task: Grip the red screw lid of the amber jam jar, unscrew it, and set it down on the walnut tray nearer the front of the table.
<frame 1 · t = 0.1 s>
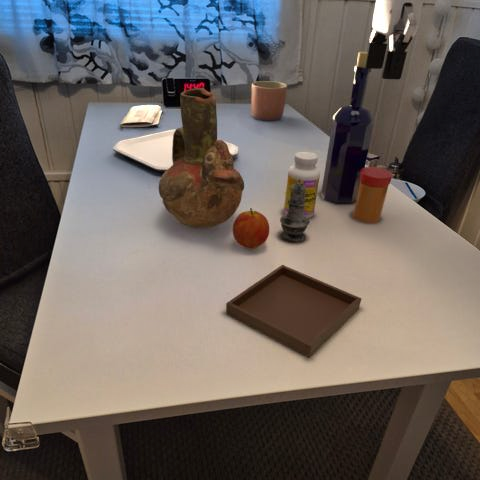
hand: (381, 73, 79), 29 cm above the table, tool pointing down, fingers open, 9 cm apart
grey carved figurine: (292, 237, 90), on the table
planter: (267, 118, 162), on the table
jar: (366, 217, 99), on the table
tray: (293, 311, 70), on the table
bottle: (339, 197, 107), on the table
ceramic vessel: (204, 224, 93), on the table
plate: (177, 155, 127), on the table
jar lid: (376, 173, 93), point 10 cm above the table, screwed on, not yet turned
supplement bottle: (298, 214, 99), on the table
fruit: (250, 247, 86), on the table
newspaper: (144, 119, 155), on the table
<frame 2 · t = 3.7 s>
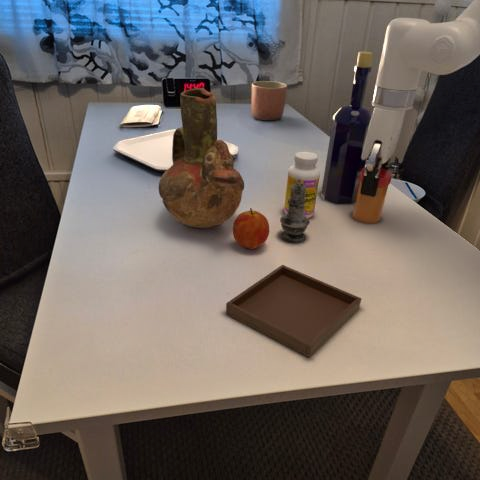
hand: (372, 188, 95), 7 cm above the table, tool pointing down, fingers closed on jar lid, 6 cm apart
jar lid: (376, 173, 93), point 10 cm above the table, screwed on, not yet turned, touching gripper
everything else where it was.
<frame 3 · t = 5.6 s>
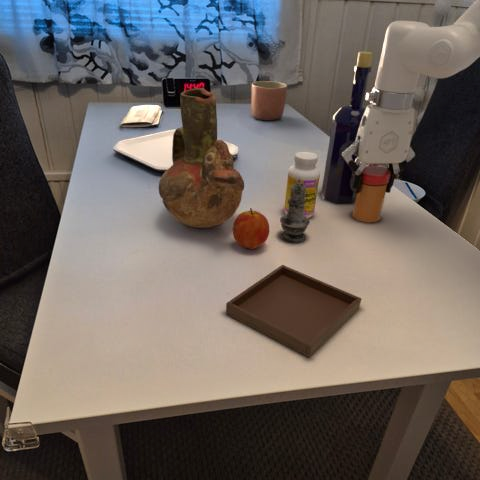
hand: (370, 189, 95), 6 cm above the table, tool pointing down, fingers closed on jar lid, 6 cm apart
jar: (366, 216, 99), on the table, touching gripper
jar lid: (374, 172, 93), point 10 cm above the table, turned 130° so far, risen 0.1 cm, still on its thread, touching gripper
everything else where it was.
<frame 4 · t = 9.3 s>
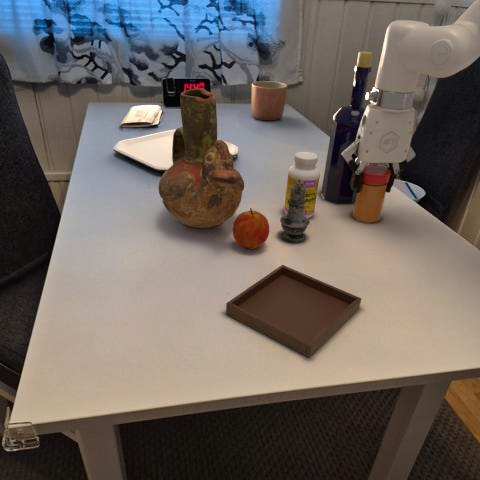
hand: (370, 189, 95), 6 cm above the table, tool pointing down, fingers closed on jar lid, 6 cm apart
jar lid: (375, 171, 92), point 10 cm above the table, turned 260° so far, risen 0.3 cm, still on its thread, touching gripper
everything else where it was.
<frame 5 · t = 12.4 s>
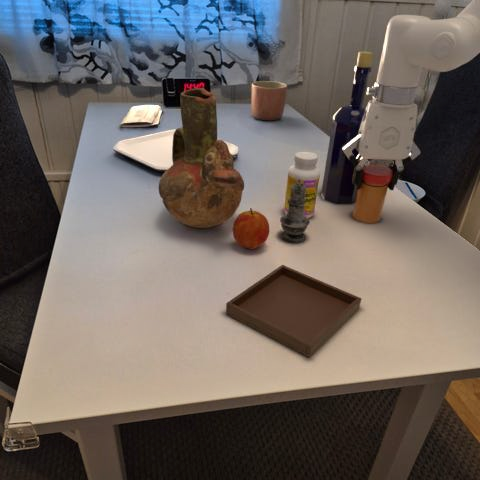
hand: (373, 186, 94), 7 cm above the table, tool pointing down, fingers closed on jar lid, 6 cm apart
jar: (366, 217, 99), on the table
jar lid: (376, 171, 92), point 10 cm above the table, off its thread, touching gripper
everything else where it was.
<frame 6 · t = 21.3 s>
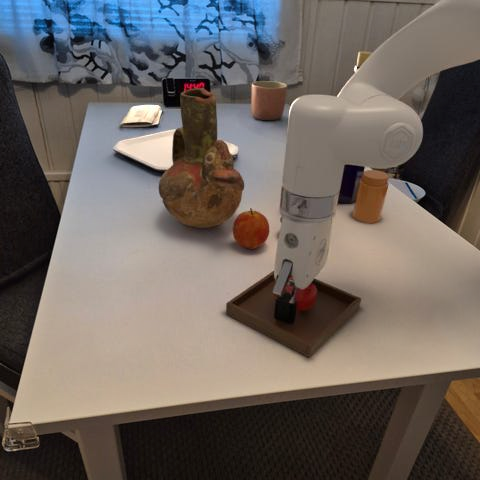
hand: (293, 307, 70), 1 cm above the table, tool pointing down, fingers closed on jar lid, 6 cm apart
jar lid: (295, 290, 68), point 4 cm above the table, off its thread, touching gripper
everything else where it was.
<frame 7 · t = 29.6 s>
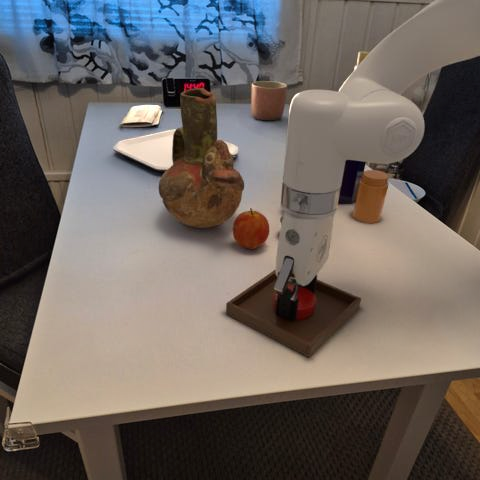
hand: (295, 304, 69), 1 cm above the table, tool pointing down, fingers closed on jar lid, 6 cm apart
jar lid: (295, 299, 69), point 2 cm above the table, off its thread, touching gripper
everything else where it was.
when the fingers open (1 cm above the table, at t = 29.6 s): jar lid stays where it is, resting on tray.
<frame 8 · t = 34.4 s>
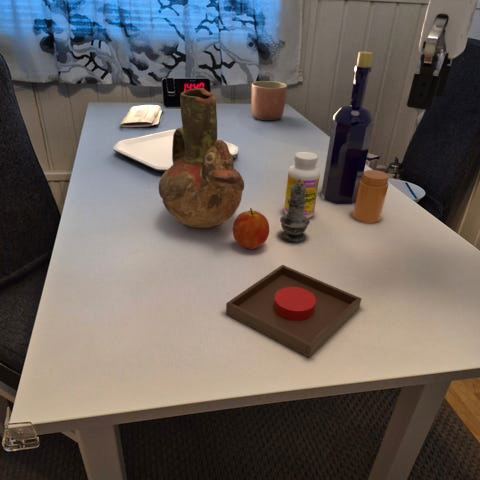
hand: (425, 101, 64), 28 cm above the table, tool pointing down, fingers open, 9 cm apart
jar lid: (295, 300, 69), point 2 cm above the table, off its thread, touching tray
everything else where it was.
at the end: jar lid came off its thread; jar lid inside the target area in the tray (0.1 cm from its centre), point 2.1 cm above the tray's base; the gripper is holding nothing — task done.
